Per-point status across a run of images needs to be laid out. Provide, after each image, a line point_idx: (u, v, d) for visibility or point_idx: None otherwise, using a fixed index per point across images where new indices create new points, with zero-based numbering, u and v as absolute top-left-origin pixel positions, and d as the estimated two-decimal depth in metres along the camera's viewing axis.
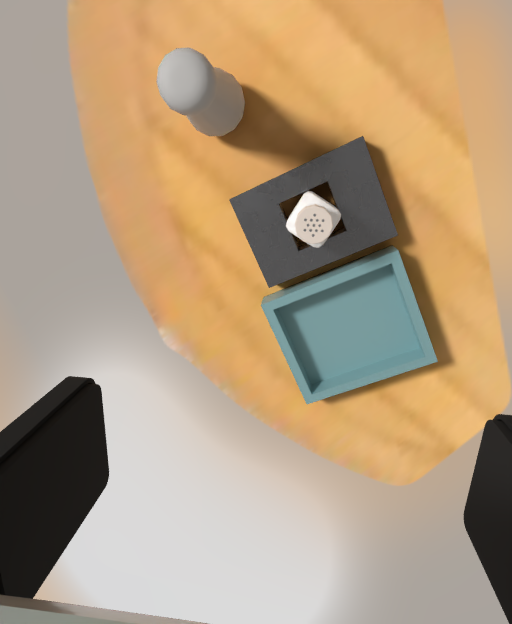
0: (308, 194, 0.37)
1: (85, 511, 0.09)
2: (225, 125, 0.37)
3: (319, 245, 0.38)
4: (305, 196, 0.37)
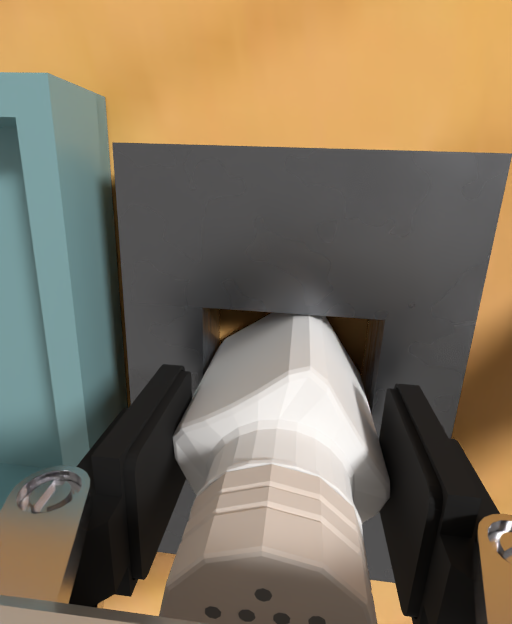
0: (384, 500, 0.09)
1: (180, 488, 0.10)
2: None
3: (178, 449, 0.09)
4: (384, 490, 0.09)
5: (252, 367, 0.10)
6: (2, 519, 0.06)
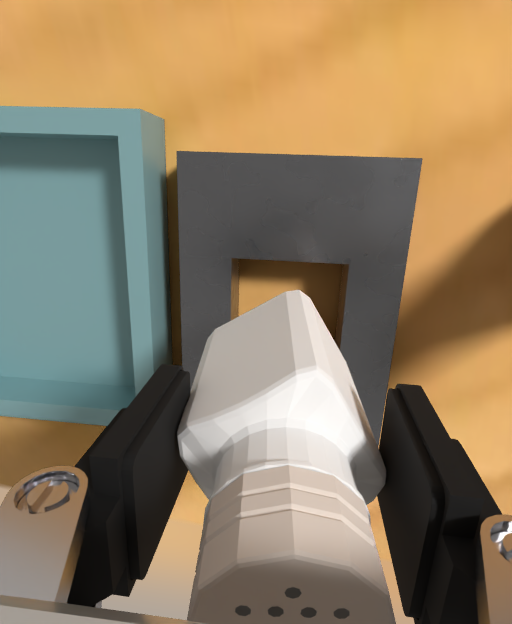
0: (380, 488, 0.10)
1: (178, 488, 0.10)
2: None
3: (183, 446, 0.09)
4: (381, 479, 0.09)
5: (254, 364, 0.10)
6: (0, 519, 0.06)
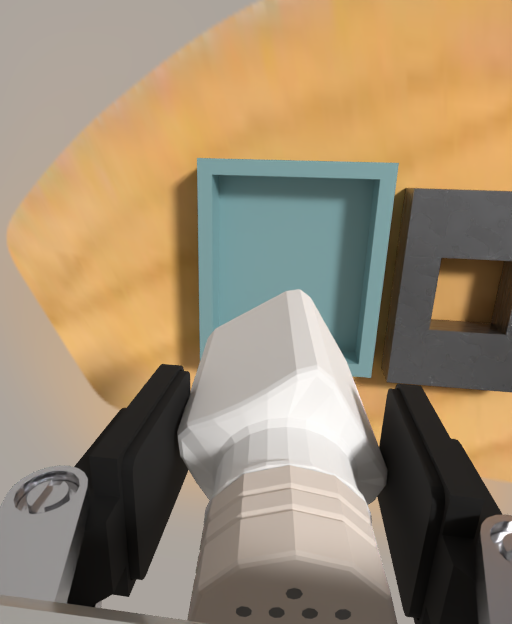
0: (381, 487, 0.10)
1: (178, 488, 0.10)
2: None
3: (183, 446, 0.09)
4: (382, 479, 0.09)
5: (254, 363, 0.10)
6: (0, 520, 0.06)
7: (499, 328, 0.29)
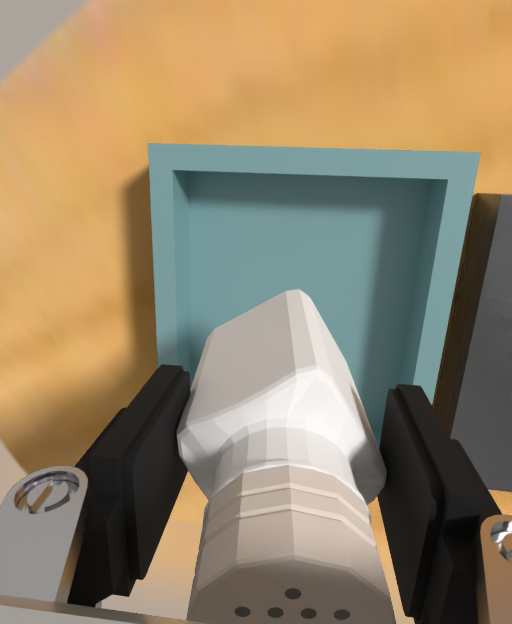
0: (380, 488, 0.10)
1: (178, 488, 0.10)
2: None
3: (182, 446, 0.09)
4: (381, 479, 0.09)
5: (253, 363, 0.10)
6: (0, 519, 0.06)
7: None
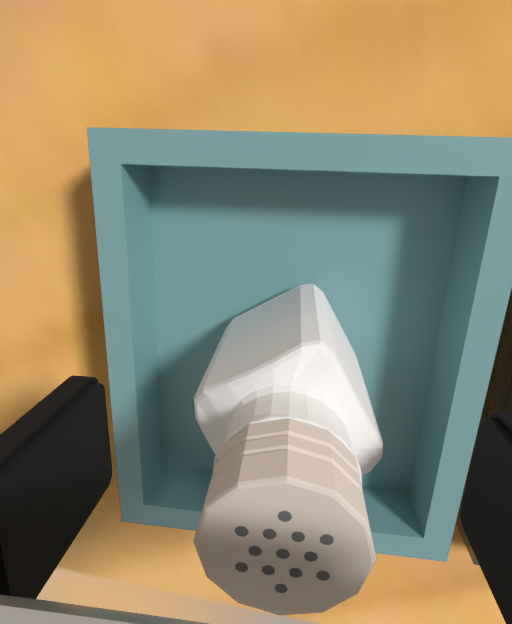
0: (377, 459, 0.10)
1: (88, 509, 0.10)
2: None
3: (199, 409, 0.10)
4: (377, 450, 0.10)
5: (265, 341, 0.11)
6: None
7: None
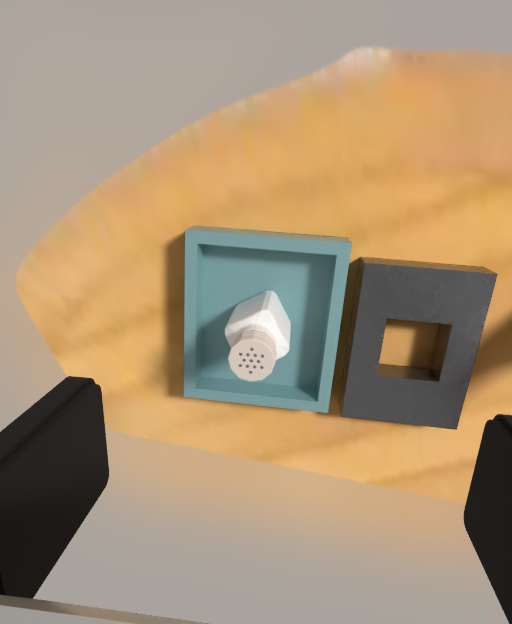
0: (286, 351, 0.30)
1: (85, 511, 0.09)
2: None
3: (226, 332, 0.30)
4: (286, 347, 0.30)
5: (250, 310, 0.31)
6: None
7: (435, 375, 0.35)
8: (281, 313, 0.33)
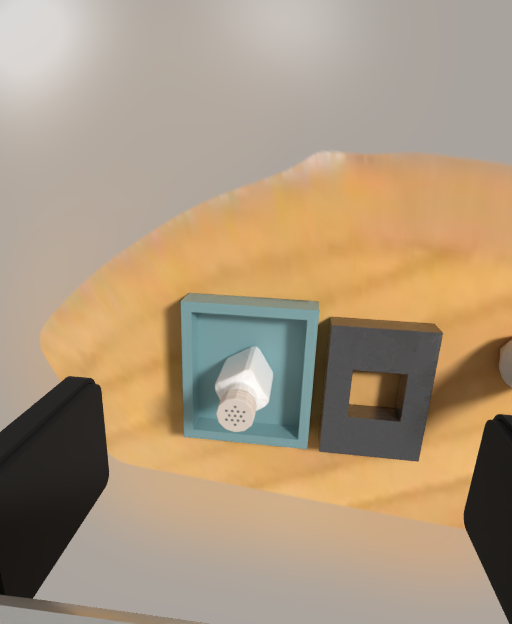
0: (266, 402, 0.36)
1: (85, 511, 0.09)
2: None
3: (216, 388, 0.37)
4: (266, 400, 0.36)
5: (236, 368, 0.37)
6: None
7: (398, 415, 0.41)
8: (263, 367, 0.39)
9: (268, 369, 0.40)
